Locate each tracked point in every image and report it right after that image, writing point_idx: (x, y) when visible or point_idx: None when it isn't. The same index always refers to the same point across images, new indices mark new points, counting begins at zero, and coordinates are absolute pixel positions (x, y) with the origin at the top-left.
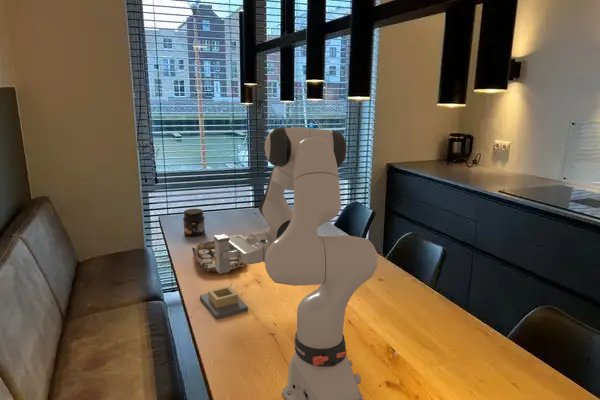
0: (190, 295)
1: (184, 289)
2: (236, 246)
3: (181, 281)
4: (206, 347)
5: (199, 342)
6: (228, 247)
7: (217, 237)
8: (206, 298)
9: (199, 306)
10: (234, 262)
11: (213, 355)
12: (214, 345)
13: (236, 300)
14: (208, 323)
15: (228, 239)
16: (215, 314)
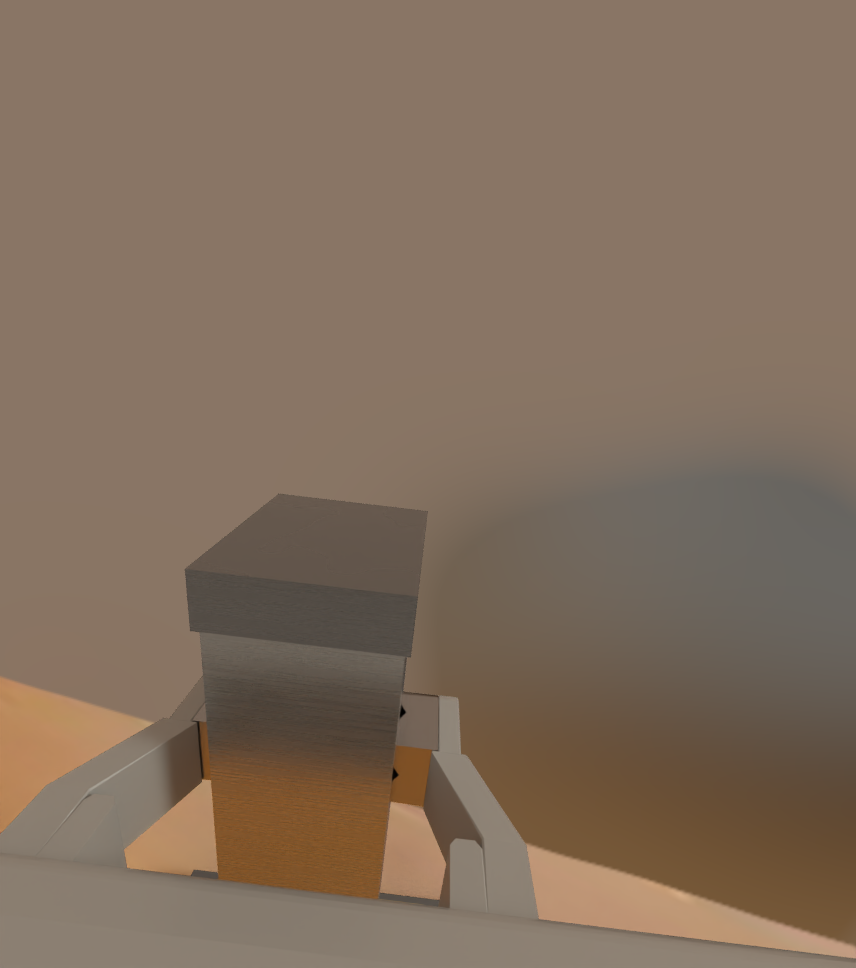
0: (565, 888)
1: (660, 891)
2: (86, 898)
3: (799, 931)
4: (80, 726)
5: (136, 721)
6: (213, 714)
7: (342, 507)
8: None
9: (404, 871)
10: None
11: (11, 722)
12: (47, 756)
13: None
14: (208, 823)
15: (199, 595)
16: (206, 872)
